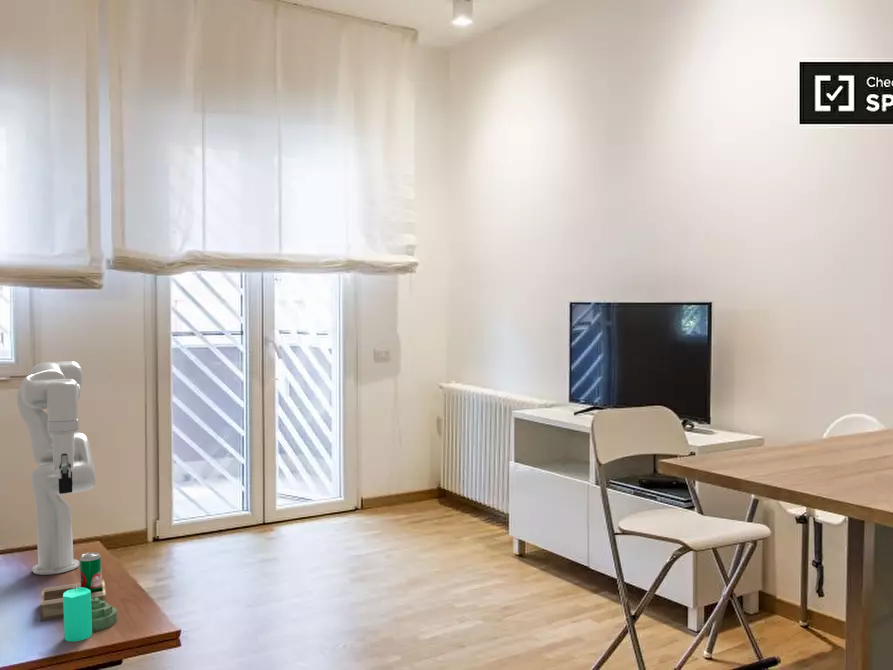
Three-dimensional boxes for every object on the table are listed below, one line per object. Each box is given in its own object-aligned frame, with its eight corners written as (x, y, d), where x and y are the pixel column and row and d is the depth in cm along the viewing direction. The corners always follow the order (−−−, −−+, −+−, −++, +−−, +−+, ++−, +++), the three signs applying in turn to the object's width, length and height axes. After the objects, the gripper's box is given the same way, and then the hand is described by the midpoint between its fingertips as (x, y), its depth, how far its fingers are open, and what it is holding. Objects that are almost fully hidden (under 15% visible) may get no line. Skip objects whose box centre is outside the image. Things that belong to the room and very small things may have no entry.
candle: (70, 632, 193) (68, 582, 192) (96, 630, 193) (94, 580, 193) (60, 642, 187) (58, 590, 186) (87, 640, 187) (85, 589, 187)
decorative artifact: (68, 623, 199) (77, 635, 191) (67, 594, 199) (76, 606, 191) (111, 613, 205) (121, 625, 197) (110, 585, 205) (120, 596, 197)
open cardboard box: (42, 603, 213) (42, 588, 213) (104, 594, 219) (104, 579, 219) (40, 621, 200) (40, 605, 200) (106, 610, 206) (105, 595, 206)
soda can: (94, 604, 208) (92, 557, 208) (77, 603, 210) (75, 557, 209) (106, 597, 213) (104, 552, 213) (89, 596, 214) (87, 551, 214)
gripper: (49, 424, 226) (51, 485, 226) (46, 431, 210) (49, 497, 211) (78, 422, 229) (81, 482, 230) (78, 429, 213) (81, 494, 214)
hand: (66, 489), depth 220 cm, fingers open, 9 cm apart
